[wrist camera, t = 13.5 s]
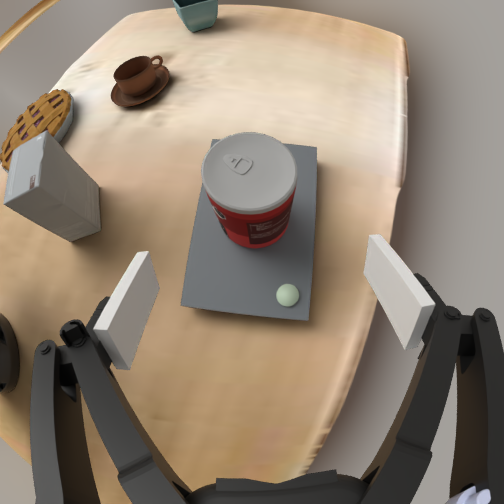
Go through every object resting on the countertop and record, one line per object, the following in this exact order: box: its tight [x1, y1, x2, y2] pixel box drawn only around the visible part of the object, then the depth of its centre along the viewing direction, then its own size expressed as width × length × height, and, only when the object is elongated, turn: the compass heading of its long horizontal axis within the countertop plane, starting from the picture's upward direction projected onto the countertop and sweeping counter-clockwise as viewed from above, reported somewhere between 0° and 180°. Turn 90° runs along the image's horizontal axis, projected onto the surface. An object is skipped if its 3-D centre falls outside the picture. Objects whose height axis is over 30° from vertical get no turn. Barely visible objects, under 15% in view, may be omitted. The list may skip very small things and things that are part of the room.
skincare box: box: [4, 130, 101, 242], centre depth 30 cm, size 8×7×16 cm
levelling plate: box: [181, 139, 317, 321], centre depth 34 cm, size 14×22×3 cm, turn 173°
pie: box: [0, 89, 73, 173], centre depth 41 cm, size 22×22×5 cm
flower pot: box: [172, 0, 218, 32], centre depth 45 cm, size 9×9×9 cm
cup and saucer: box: [111, 56, 169, 106], centre depth 41 cm, size 12×12×6 cm
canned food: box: [201, 132, 297, 248], centre depth 27 cm, size 8×8×11 cm
